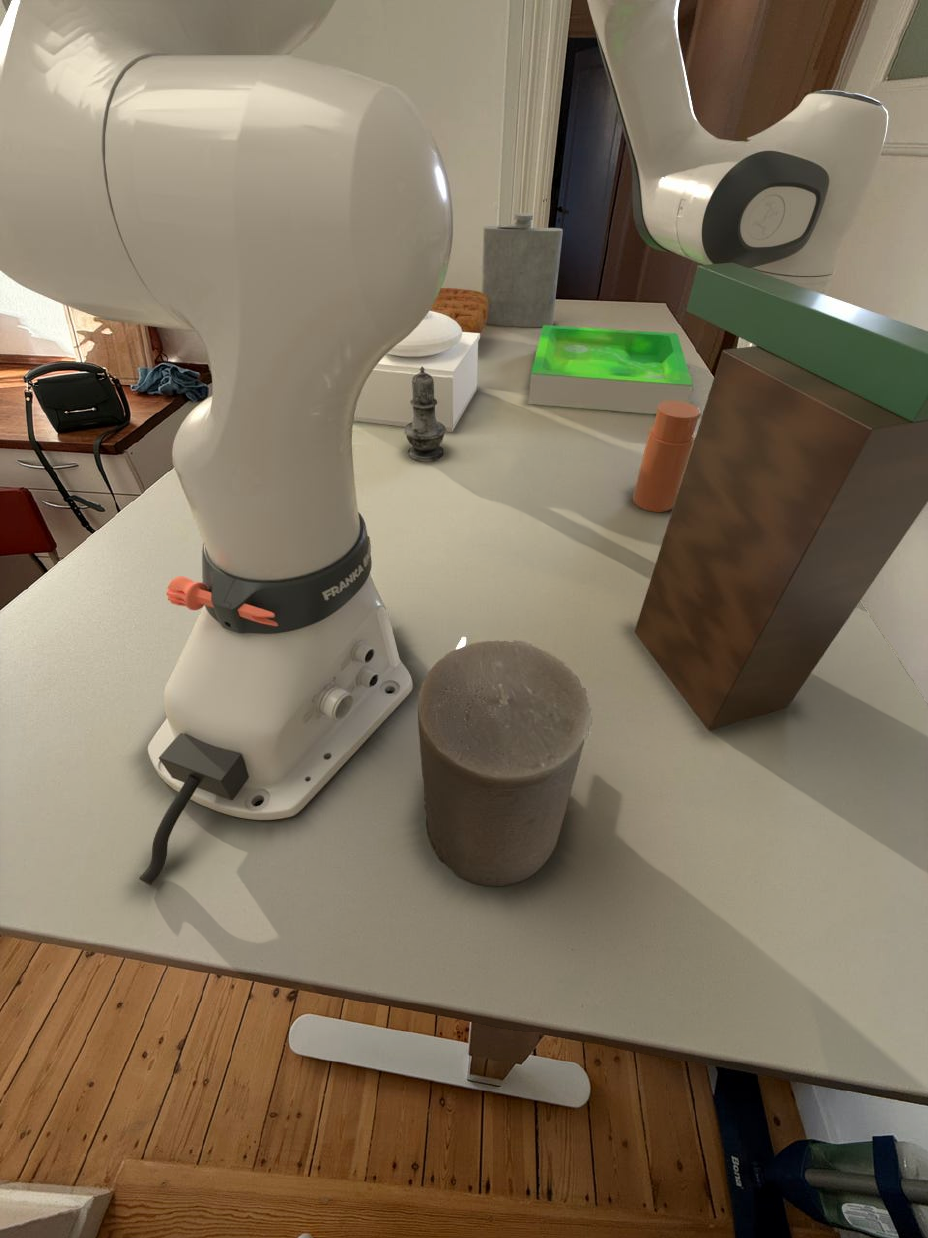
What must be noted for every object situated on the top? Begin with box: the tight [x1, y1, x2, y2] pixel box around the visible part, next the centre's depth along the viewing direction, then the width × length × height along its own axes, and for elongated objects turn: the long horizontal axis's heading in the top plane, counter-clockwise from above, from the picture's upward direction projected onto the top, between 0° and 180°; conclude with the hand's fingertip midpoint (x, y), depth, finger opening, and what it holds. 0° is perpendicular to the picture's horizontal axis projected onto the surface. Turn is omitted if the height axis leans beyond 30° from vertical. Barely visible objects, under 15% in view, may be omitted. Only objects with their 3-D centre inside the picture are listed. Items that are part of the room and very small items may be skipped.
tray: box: [528, 325, 693, 415], centre depth 98 cm, size 25×25×5 cm
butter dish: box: [353, 311, 481, 433], centre depth 87 cm, size 18×18×16 cm
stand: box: [634, 346, 928, 731], centre depth 42 cm, size 12×8×26 cm, turn 18°
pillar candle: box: [417, 639, 593, 887], centre depth 35 cm, size 10×10×15 cm
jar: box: [632, 401, 702, 513], centre depth 67 cm, size 5×5×12 cm
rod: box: [685, 263, 928, 422], centre depth 34 cm, size 20×3×3 cm, turn 18°
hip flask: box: [481, 212, 564, 328], centre depth 116 cm, size 16×4×20 cm, turn 83°
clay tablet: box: [430, 287, 489, 336], centre depth 111 cm, size 22×17×8 cm
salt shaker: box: [403, 367, 447, 463], centre depth 75 cm, size 6×6×12 cm
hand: (733, 420), depth 70 cm, fingers closed on jar lid, 6 cm apart
